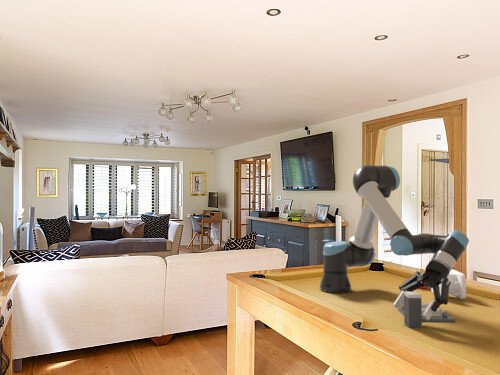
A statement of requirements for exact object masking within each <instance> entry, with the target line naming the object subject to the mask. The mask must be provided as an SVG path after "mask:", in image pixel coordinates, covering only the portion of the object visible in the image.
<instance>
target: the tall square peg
mask: <svg viewBox="0 0 500 375" xmlns="http://www.w3.org/2000/svg"><path fill="white" fill-rule="evenodd" d="M403 304H404V315H403V318H404V320H403V321H404V325H405V326H406V327H408V328H409V329H422V328H423V327H422V326H423V321H422V306H421V304H422V294H421V293H420V292H418V291H412V292H405V291H404V302H403Z"/></svg>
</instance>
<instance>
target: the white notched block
mask: <svg viewBox="0 0 500 375" xmlns="http://www.w3.org/2000/svg"><path fill="white" fill-rule="evenodd" d="M447 278H448V279H449V281H450V282H451V284H450V286H449V293H448V297H450V295H451V296H452V295H453V296H454V297H457V298H458V299H459V300H464V299H466V297H467V290H466V289H467V285H466V282H467V281H466V280H467V279H466V275H465V274H464V273H462V272H461V271H458V270H455V269H453V268H452V270H451V271H450V273H449V275H448V276H447ZM439 288H440V290H439V291H440V295H441V288H442V283H441V284H440V285H439ZM430 290H431V293H433V294H434V292H433V288H430Z"/></svg>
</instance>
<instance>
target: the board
mask: <svg viewBox="0 0 500 375" xmlns="http://www.w3.org/2000/svg"><path fill="white" fill-rule="evenodd" d="M429 304H430V303H421V306H422V322H435V323H437V322H440V323H441V322H443V323H444V322H446V323H450V322H451V323H453V322H456V318H454V317H453V316H451V315H449V314H448V311H447V310H442V309H441V308H439V307H438V309H437V311H436V312H434V313H433V314H432V316H431V317H430V319H429V320H427V319H426V318H425V317H424V316H423V313H424V312H425V310H426V308H427V307H428V305H429ZM397 311H398V312H400V313H401V315H402V316H404V306H403V305H401V307H400V308H399V309H397Z"/></svg>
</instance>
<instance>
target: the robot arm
mask: <svg viewBox="0 0 500 375" xmlns="http://www.w3.org/2000/svg"><path fill="white" fill-rule="evenodd" d="M400 177H401V176H400V174H399V172H398V170H397V169H396V168H395V167H393V166H389V165H372V164H367V165H366V164H365V165H362V166H360V167H358V169H356V170H355V172H354V174H353V176H352V185H353V188H354V191H355V192H356V194H357V195H358V197H360V198H363V200H364V204H363V207H362V209H361V213H360V216H359V219H358V223H357V225H356V229H355V232H354V235H353V236H351V237H350V238H349V242H348V243H347V241H343V240H341V241H340V240H338V241H337V240H335V241H330V242H326V243H325V244H324V245H323V249H322V250H323V251H322V257H323V259H322V263H323V264H322V265H323V268H322V269H323V271H322V272H323V274H322V276H321V280H320V283H319V289H320V288H321V289H322V290H326V291H330V292H329V293H331V292H337V293H336V294H343V292H346V293H350V292H352V284H351V281H350V278H349V276H348V268H357V267H366V266H369V265H371V264H372V263H373V261H374V260H375V258H376V252H375V247H374V243H373V242H372V240H373V238H374V234H375V232H376V231H375V230H376V228H377V225H378V223H380V225H381V227H383V229H384V231H385V232H386V233H387V236H389V238H390V242H389V245H390V250H391V251H392V252H393V254H395V255H397V256H411V255H427V254H433V256H432V257H431V259H430V261H429V262H428V263H427V264H426V267H425V271H424V272H423V273H422V272H421V271H418V270H417V271H416V272H415V273H414V274H413V275H412V276H411V277H409V278H408V279H406V280H405V281H403V283H401V284H399V286H398V287H397V288H398V289H399V290H400V291H399V293H398V295H397V296H396V300H395V301H394V303H392V305H393V306H394V307H395V309H397V310H398V309H399V308H401V306H403V304H404V291H405V292H415V291H416V290H418V289H421V288H420V287H424V286H425V287H427V288H430V289H431V288H433V292H434V293H433V292H432V293H433V296H434V298H433V299H431V301H430V302H429V303H428V304H429V305H428V307H427V308H426V310H425V312H424V313H423V316H424V317H425V318H426V319H427V320H429V319H430V317H431V316H432V314H433V313H434V312H436V311H437V309H438V308H439V307H440V306H441V305H444V306H446V305H448V303H449V296H448V293H449V286H450V284H451V282H450V281H449V279H448V278H447V276H448V275H449V273H450V271H451V270H452V269H453V268H454V267H455V266H456V263H457V262H458V260H459V259H460V257H462V255H463V253H464V252H465V251H466V249H467V247H468V245H469V241H470V239H469V237H468V236H467V235H466V234H465V233H463V232H461V231H460V230H455V229H453V230H450V231H449V232H448V233H447V234H446V235H441V234H430V233H418V234H412V233H411V231H410V230H409V229H408V228H407V226H406V225H405V223H404V222H403V220H402V219H401V217H399V215H398V213H397V212H396V211H395V209H394V208H393V207H392V206H391V204H390V202H389V201H388V200H387V199H389V198H390V196H391V194H392V192H394V191H395V190H397V189H398V188H399V187H400V184H401V178H400ZM420 272H421V273H420ZM421 281H422V283H421ZM441 283H442V288H441V295H440V291H439V290H440V288H439V285H440V284H441ZM321 289H320V290H321ZM322 290H321V291H322ZM349 291H350V292H349Z"/></svg>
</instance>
